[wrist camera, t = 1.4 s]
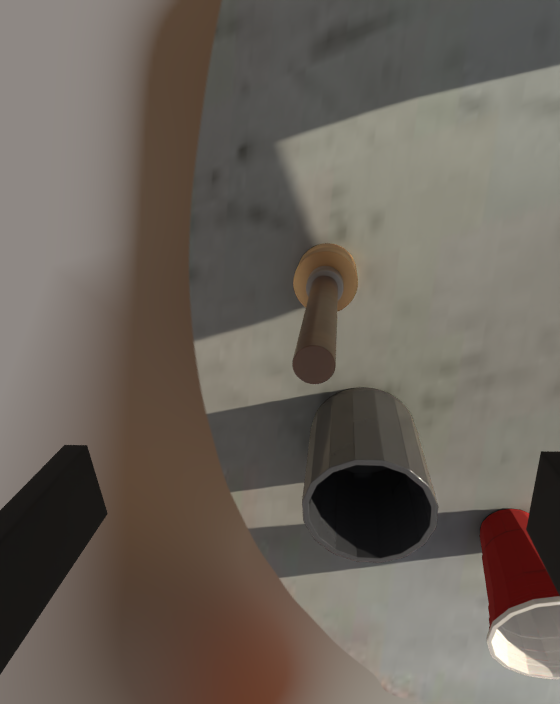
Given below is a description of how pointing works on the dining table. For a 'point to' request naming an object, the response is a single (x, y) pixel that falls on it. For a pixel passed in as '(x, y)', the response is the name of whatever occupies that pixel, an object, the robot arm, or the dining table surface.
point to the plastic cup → (519, 598)
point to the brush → (321, 308)
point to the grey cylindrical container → (367, 478)
